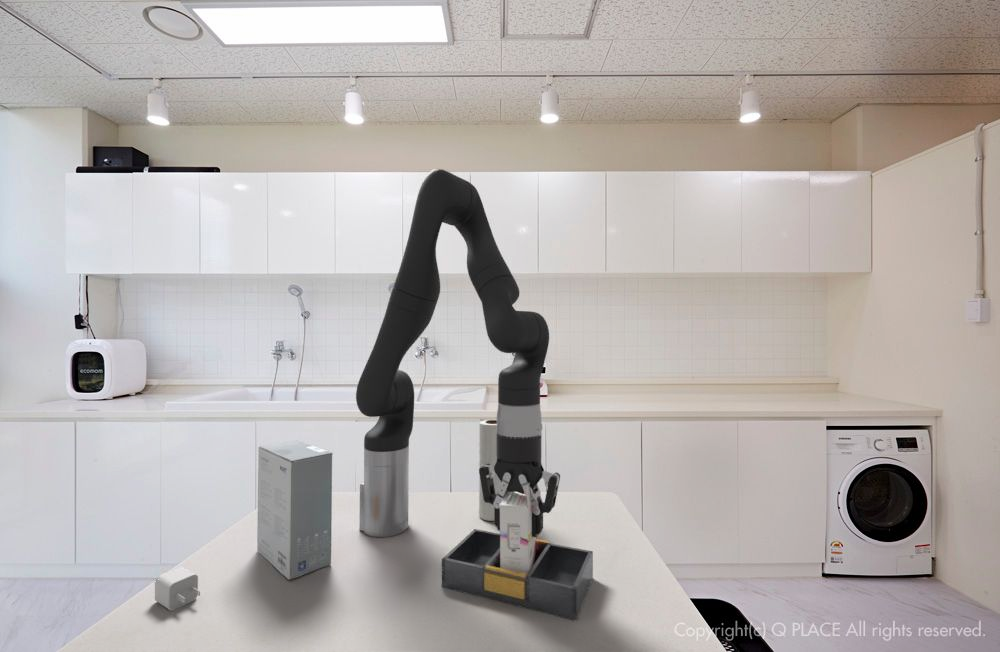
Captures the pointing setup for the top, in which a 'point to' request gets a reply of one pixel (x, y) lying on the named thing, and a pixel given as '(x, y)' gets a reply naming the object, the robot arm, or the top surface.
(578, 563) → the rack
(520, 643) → the top surface
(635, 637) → the top surface
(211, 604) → the top surface
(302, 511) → the hard drive box
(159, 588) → the usb wall charger
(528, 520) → the ink cartridge box
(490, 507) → the paper towel roll
